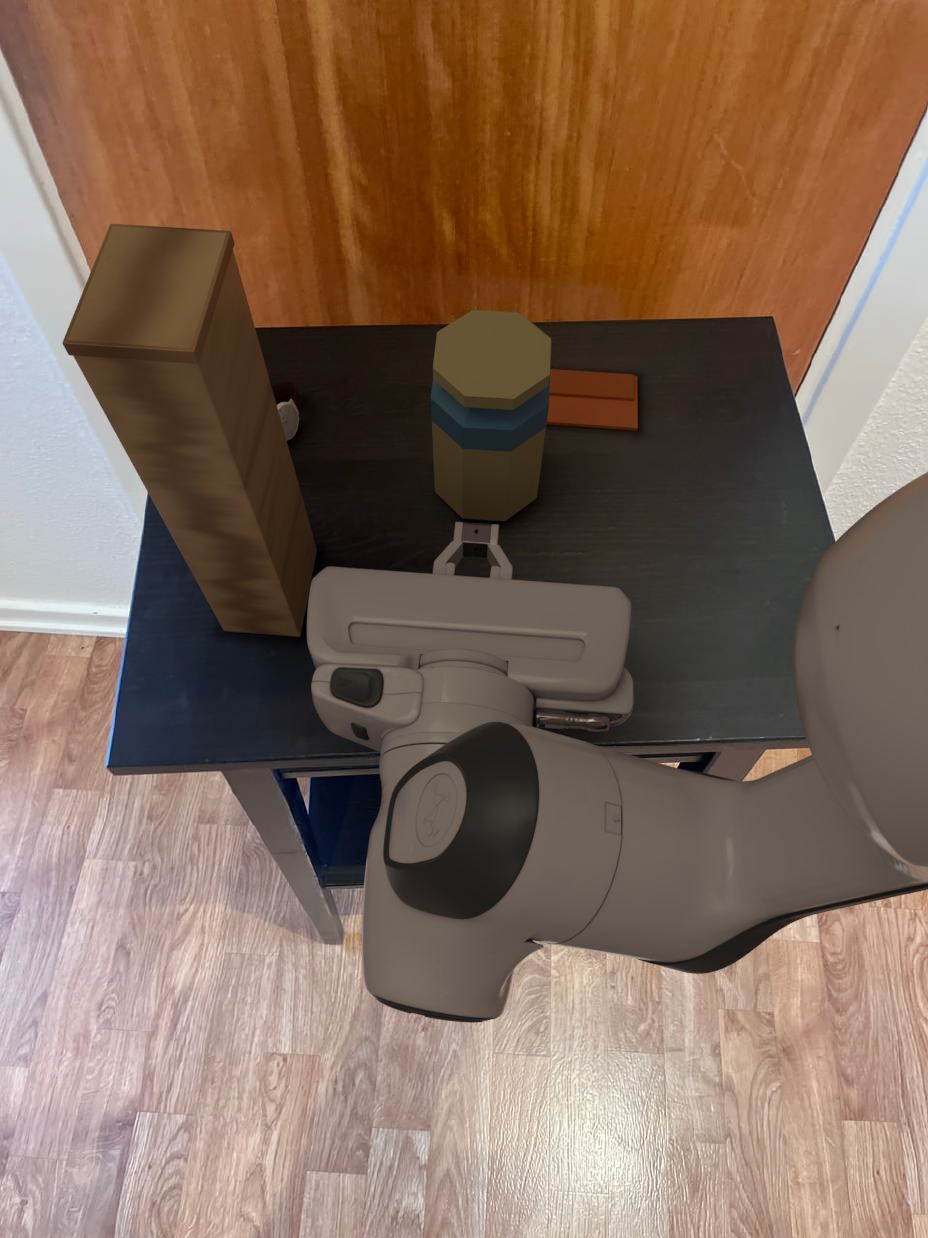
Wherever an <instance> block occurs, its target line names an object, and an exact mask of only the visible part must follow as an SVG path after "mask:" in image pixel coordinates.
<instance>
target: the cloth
mask: <svg viewBox="0 0 928 1238" xmlns="http://www.w3.org/2000/svg"><path fill="white" fill-rule="evenodd" d="M638 403H639V401H638V376H637V375H634V374H632V373H620V372H619V373H618V372H603V371H587V370H586V371H585V370H569V369H557V368H556V369H555V368H551V369H550V397H549V410H548V418H547V425H548V426H564V427H575V428H576V427H578V428H592V429H607V430H622V431H638V429H639V410H638V409H639V405H638ZM547 425H546V426H547Z"/></svg>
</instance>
